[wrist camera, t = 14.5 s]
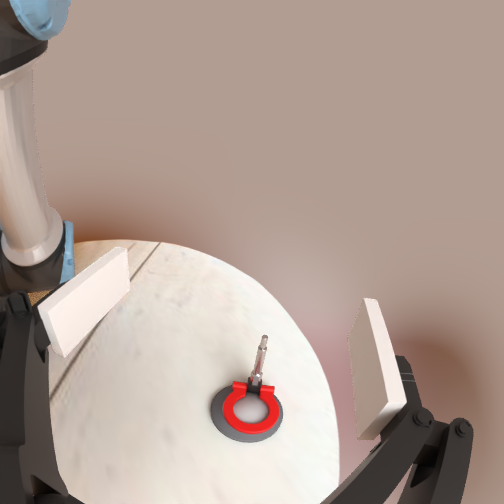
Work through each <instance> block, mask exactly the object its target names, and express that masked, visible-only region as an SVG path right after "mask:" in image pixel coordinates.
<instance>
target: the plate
mask: <svg viewBox="0 0 504 504" xmlns="http://www.w3.org/2000/svg"><path fill="white" fill-rule="evenodd" d="M232 386H233V385H231V386H228V387H226V388H224V389H223V390H221V391H220V392H219V393H218V394H217V395H216V396H215V398H214V399H213V402H212V405H211V417H212V420H213V423H214V424H215V426H216V427H217V429H218V430H219V431H220V432H221V433H223V434H224V435H225V436H227V437H229V438H231V439H233V440H236V441H240V442H258V441H262V440H264V439H267V438H268V437H270V436H272V435H273V434H274V433H275V432H276V431H277V430H278V428H279V426H280V424H281V422H282V419H283V409H282V406H281V403H280V402H279V400H278V399H277V397H276V396H275V395H274V394H273V397H274V398H275V400H276V401H277V403H278V406H279V417H278V420H277V422H276V423H275V425H274V426H273V427H272V428H270V429H269V430H268V431H265V432H263V433H259V434H246V433H242V432H239V431H237V430H236V429H234V428H232V427H231V426H230V425H229V424H228V423H227V421H226V419H225V417H224V413H223V406H224V402H225V400H226V398H227V397H228V396H229V394H230V393H232V392H233V390H234V389H232ZM233 410H234V414H235V415H236V417H237V418H238V419H239V420H241V421H242V422H244V423H248V424H258V423H261V422H263V421H264V420H265V419H266V418H267V417H268V415H269V409H268V406H267V405H266V403H265V402H264V401H262V400H261V399H260V393H259V394H258V393H250V392H246V394H245V397H244V398H241V399H239V400H238V401H237V402H236V403H235V405H234V407H233Z"/></svg>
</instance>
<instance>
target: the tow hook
mask: <svg viewBox="0 0 504 504" xmlns="http://www.w3.org/2000/svg"><path fill="white" fill-rule="evenodd" d="M267 339H268V336H266V335H263V336H262V339H261V344H260V345H259V346H258V351H257V356H256V361H255V365H254V370H253V371H252V372H251V377H249V378H248V383H243V382H235V381H234V382H233V386H232V389H234V390H233V392H232V393H230V394H229V396H228V397H227V398H226V400H225V402H224V406H223V413H224V417H225V419H226V421H227V423H228V424H229V425H230V426H231V427H232V428H234V429H236V430H237V431H239V432H242V433H246V434H259V433H263V432H265V431H268V430H269V429H270V428H272V427H273V426H274V425H275V423H276V422H277V420H278V417H279V406H278V403H277V401H276V400H275V398H274V397H273V394H274V389H275V387H274V386H267V385H262V379H261V378H262V374H263V373H262V367H263V363H264V359H265V354H266V350H267V347H266V344H267ZM246 392H250V393H258V394H259V393H260V399H261V400H262V401H264V402H265V403H266V405H267V406H268V409H269V415H268V417H267V418H266V419H265V420H264V421H263V422H261V423H258V424H248V423H244V422H242V421H241V420H239V419H238V418H237V417H236V415H235V414H234V410H233V407H234V405H235V403H236V402H237V401H238V400H239V399H241V398H244V397H245V394H246Z"/></svg>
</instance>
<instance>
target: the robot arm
mask: <svg viewBox="0 0 504 504" xmlns="http://www.w3.org/2000/svg"><path fill="white" fill-rule="evenodd" d="M70 2H71V0H0V504H84V503H83V502H81V501H79V500H78V499H76V498H75V497H73V496H71V495H70V494H68V491H67V488H66V486H65V483H64V482H63V480H62V478H61V477H60V474H59V471H58V467H57V462H56V456H55V450H54V443H53V436H52V428H51V418H50V405H49V378H48V364H49V352H48V348H47V347H48V346H49V345H50V343H51V345H52V348H53V350H54V352H55V353H57V354H58V355H60V356H62V357H64V358H66V356H67V355H68V354H69V353H70V352H71V351H72V350H73V349H74V348H75V347H76V345H77V344H78V343H79V342H80V341H81V340H82V339H83V338H84V337H85V336H86V335H87V334H88V332H89V331H90V330H91V329H92V328H93V327H94V326H95V325H96V324H97V323H98V322H99V321H100V320H101V319H102V318H103V317H104V316H105V315H106V314H107V312H108V311H109V310H110V309H111V308H112V307H113V306H114V305H115V304H116V303H117V302H118V301H119V300H120V299H121V298H122V297H123V296H124V295H125V294H126V293H127V292H128V291H129V290H130V279H129V269H128V256H127V249H126V248H122V247H118V246H116V247H115V248H113V249H112V250H110V251H109V252H108V253H106V254H105V255H103V256H102V257H101V258H99V259H98V260H96V261H95V262H94V263H92V264H91V265H90V266H88V267H87V268H85V269H84V270H83V271H81V272H80V273H79V274H77V275H76V276H75V265H74V230H73V223H72V222H70V221H62V220H61V217H60V215H59V213H58V212H57V211H56V210H55V209H54V208H52V207H50V206H49V204H48V200H47V196H46V191H45V187H44V182H43V177H42V171H41V166H40V160H39V153H38V147H37V139H36V130H35V120H34V105H33V67H34V66H35V65H36V63H37V62H38V61H39V60H40V59H41V58H42V57H43V55H44V54H45V53H46V51H47V44H48V40H49V39H51V38H52V37H54V36H56V35H58V34H59V33H60V32H61V30H62V28H63V27H64V25H65V22H66V19H67V15H68V7H69V6H70ZM1 229H2V230H1ZM51 290H52V291H51ZM42 291H51V292H49V294H47V295H45V296H44V297H43V298H42V299H40V300H39V301H38V302H37V303H36V304H34V305H33V306H31V303H30V300H29V297H28V294H27V293H33V292H42ZM348 346H349V354H350V362H351V370H352V381H353V391H354V401H355V402H354V403H355V415H356V431H357V440H374V439H375V438H376V437H377V436H378V435H379V434H380V435H381V442H379V443H378V444H377V445H376V446H375V447H374V448H373V449H372V450H371V451H370V452H371V453H370V454H369V455H368V456H367V457H366V459H365V460H364V461H363V462H362V463H361V464H360V465H359V466H358V467H357V468H356V469H355V471H354V472H353V473H352V474H351V475H350V476H349V477H348V478H347V479H346V480H345V481H344V482H343V483H342V484H341V485H340V486H339V487H338V488H337V489H336V490H335V491H334V492H332V493H331V494H330V495H329V496H328V497H327V498H326V499H325V500H324V501H323V502H321V503H320V504H383V503H384V502H385V501H386V499H387V498H388V497H389V496H390V494H391V493H392V492H393V490H394V489H395V488H396V486H397V485H398V483H399V482H400V481H401V479H402V478H403V477H404V475H405V474H406V472H407V471H408V469H409V468H410V466H411V465H412V463H413V466H412V468H411V471H410V474H409V477H408V479H407V482H406V485H405V487H404V489H403V492H402V494H401V497H400V499H399V501H398V503H397V504H460V503H461V499H462V496H463V491H464V487H465V483H466V478H467V473H468V468H469V462H470V457H471V450H472V442H473V428H472V426H471V424H470V423H469V422H468V421H467V420H466V419H464V418H456V419H454V420H453V421H452V422H451V423H450V424H446V423H443V422H439V421H436V420H434V417H433V415H432V414H431V412H430V411H429V410H427V409H425V408H423V407H422V404H421V400H420V397H419V393H418V389H417V386H416V383H415V382H414V381H415V379H414V376H413V375H412V374H413V373H412V369H411V366H410V364H409V363H408V361H407V360H406V359H405V357H404V356H395V355H394V351H393V348H392V345H391V341H390V338H389V335H388V332H387V329H386V325H385V322H384V319H383V317H382V314H381V311H380V308H379V305H378V302H377V300H374V299H369V298H363V301H362V303H361V306H360V308H359V311H358V314H357V316H356V319H355V321H354V323H353V326H352V328H351V331H350V333H349V335H348ZM33 495H34V496H33Z"/></svg>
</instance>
